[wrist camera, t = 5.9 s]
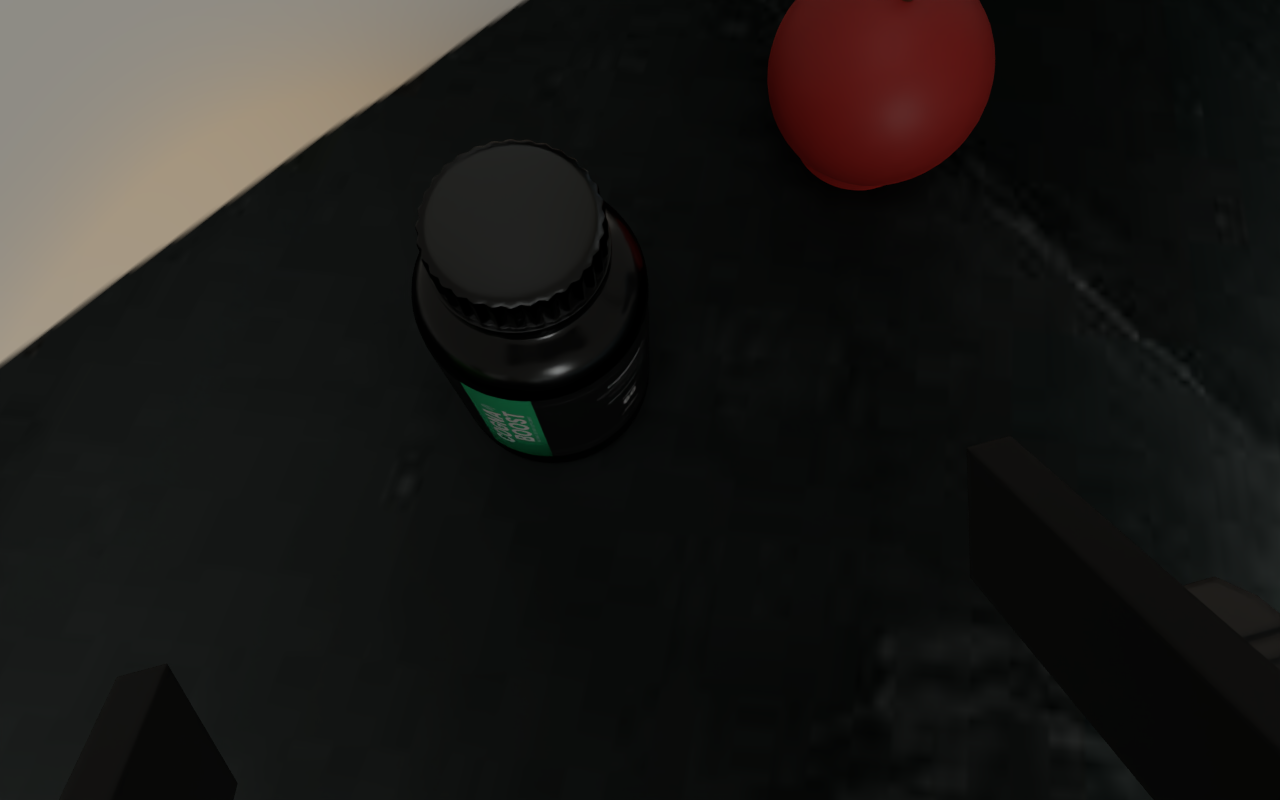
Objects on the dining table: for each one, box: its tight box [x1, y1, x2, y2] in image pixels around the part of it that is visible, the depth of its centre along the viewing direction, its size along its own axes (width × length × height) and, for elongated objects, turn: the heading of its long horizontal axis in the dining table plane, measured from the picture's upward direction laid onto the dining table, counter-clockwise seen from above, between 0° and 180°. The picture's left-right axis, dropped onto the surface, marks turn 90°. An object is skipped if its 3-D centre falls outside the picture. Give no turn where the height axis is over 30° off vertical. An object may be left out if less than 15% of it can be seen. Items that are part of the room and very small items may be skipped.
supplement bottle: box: [412, 139, 649, 463], centre depth 28 cm, size 7×7×12 cm
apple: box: [767, 0, 995, 190], centre depth 33 cm, size 8×8×9 cm
